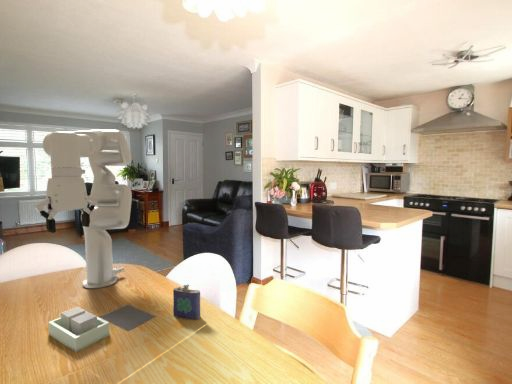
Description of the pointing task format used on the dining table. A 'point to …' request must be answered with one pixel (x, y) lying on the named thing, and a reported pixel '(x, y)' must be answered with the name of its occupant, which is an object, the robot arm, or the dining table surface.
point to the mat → (128, 317)
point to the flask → (186, 303)
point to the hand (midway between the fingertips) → (69, 229)
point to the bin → (81, 340)
